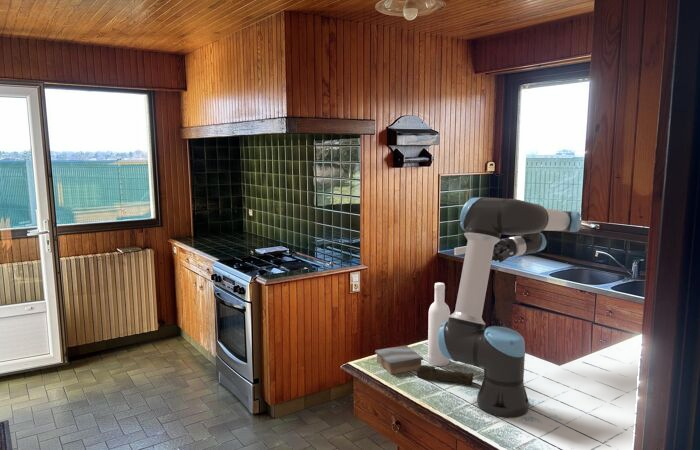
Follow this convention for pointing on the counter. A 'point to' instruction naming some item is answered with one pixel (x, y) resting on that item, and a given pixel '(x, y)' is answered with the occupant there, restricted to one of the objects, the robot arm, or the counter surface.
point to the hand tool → (444, 375)
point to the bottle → (437, 325)
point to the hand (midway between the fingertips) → (466, 255)
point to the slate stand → (398, 359)
